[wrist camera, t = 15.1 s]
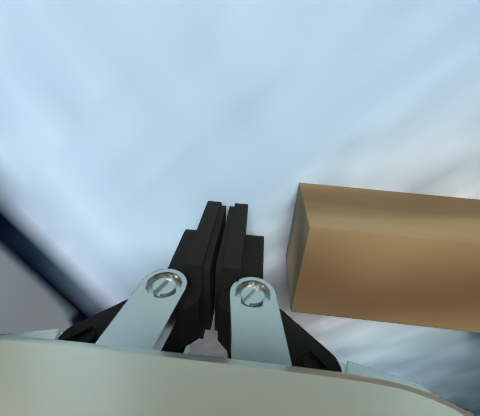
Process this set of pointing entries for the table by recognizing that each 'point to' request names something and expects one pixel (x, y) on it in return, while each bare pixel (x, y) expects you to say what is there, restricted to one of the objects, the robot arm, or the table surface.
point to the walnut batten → (385, 257)
